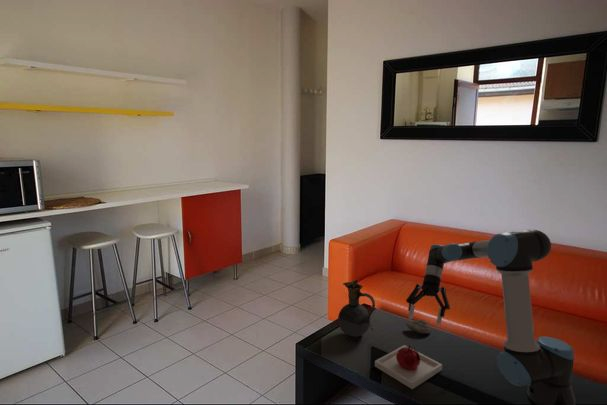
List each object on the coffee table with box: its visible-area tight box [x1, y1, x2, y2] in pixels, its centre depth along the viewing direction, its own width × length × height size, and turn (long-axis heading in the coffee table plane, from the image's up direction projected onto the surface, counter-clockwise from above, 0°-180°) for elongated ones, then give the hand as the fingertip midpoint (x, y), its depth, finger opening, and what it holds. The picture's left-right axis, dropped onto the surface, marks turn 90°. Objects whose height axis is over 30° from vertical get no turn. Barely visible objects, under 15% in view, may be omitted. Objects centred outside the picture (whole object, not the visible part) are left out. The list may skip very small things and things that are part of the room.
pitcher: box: [337, 279, 376, 341], centre depth 190 cm, size 11×19×30 cm, turn 53°
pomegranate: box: [396, 345, 420, 370], centre depth 166 cm, size 10×10×9 cm
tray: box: [374, 344, 443, 390], centre depth 167 cm, size 20×20×2 cm
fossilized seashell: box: [405, 319, 432, 335], centre depth 196 cm, size 11×11×7 cm
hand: (423, 321), depth 174 cm, fingers open, 13 cm apart
